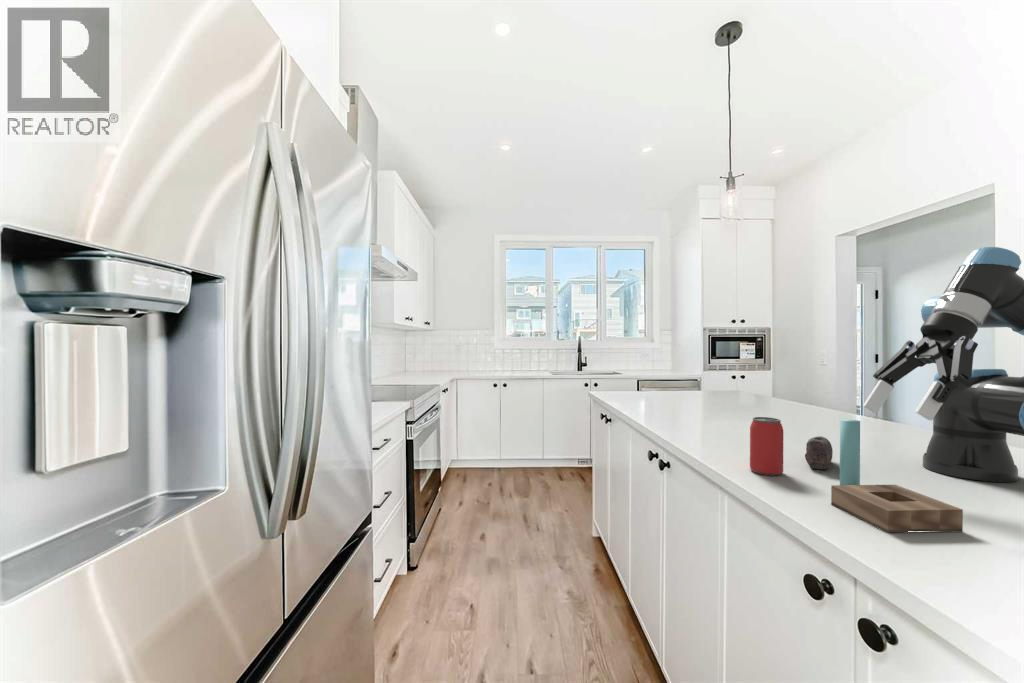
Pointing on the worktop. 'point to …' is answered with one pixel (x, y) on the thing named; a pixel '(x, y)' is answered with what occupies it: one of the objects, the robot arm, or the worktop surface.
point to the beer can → (766, 446)
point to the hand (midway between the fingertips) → (894, 412)
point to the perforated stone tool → (818, 452)
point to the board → (896, 508)
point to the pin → (849, 452)
